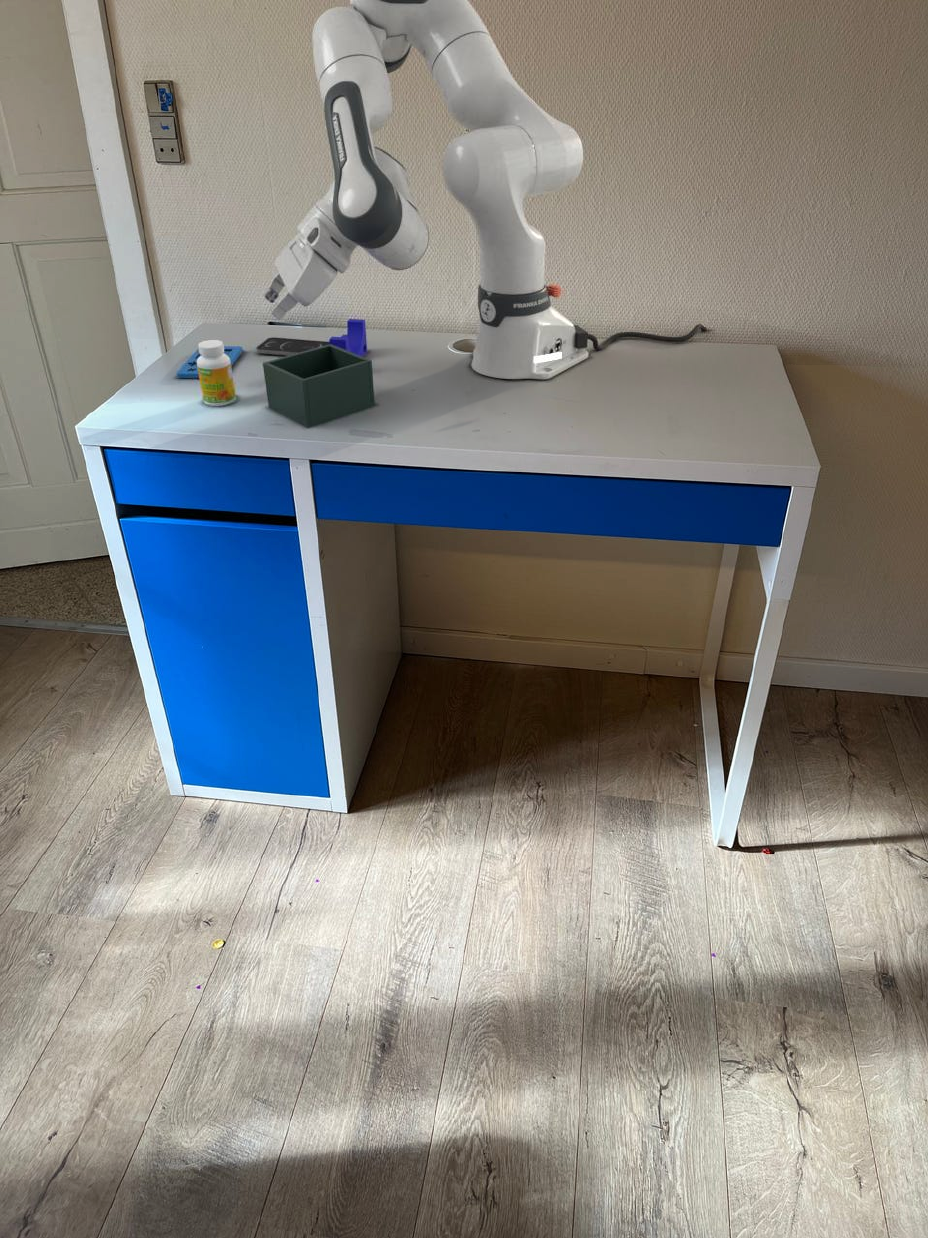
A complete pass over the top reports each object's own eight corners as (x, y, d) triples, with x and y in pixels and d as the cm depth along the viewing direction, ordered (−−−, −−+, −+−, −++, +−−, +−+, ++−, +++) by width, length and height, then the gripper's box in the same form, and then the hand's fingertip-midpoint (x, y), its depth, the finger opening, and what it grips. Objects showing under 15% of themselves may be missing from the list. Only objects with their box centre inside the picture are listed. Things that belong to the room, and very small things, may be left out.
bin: (334, 387, 162) (330, 343, 157) (375, 405, 155) (371, 360, 150) (268, 407, 154) (262, 362, 150) (307, 427, 147) (302, 380, 143)
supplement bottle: (200, 407, 155) (189, 349, 149) (207, 395, 159) (197, 338, 154) (232, 406, 155) (223, 348, 149) (239, 394, 159) (230, 338, 154)
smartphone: (329, 355, 173) (253, 349, 175) (329, 360, 173) (254, 353, 176) (342, 342, 179) (269, 336, 181) (343, 347, 179) (270, 341, 182)
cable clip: (344, 350, 178) (341, 318, 174) (367, 351, 177) (365, 319, 173) (324, 371, 168) (321, 338, 165) (348, 373, 167) (345, 340, 164)
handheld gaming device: (175, 371, 165) (200, 344, 177) (176, 377, 166) (201, 349, 178) (221, 372, 165) (242, 344, 177) (222, 378, 165) (243, 350, 178)
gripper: (299, 212, 155) (248, 277, 158) (320, 239, 139) (262, 312, 142) (329, 238, 158) (278, 302, 162) (351, 268, 142) (294, 338, 145)
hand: (270, 307), depth 152 cm, fingers open, 8 cm apart
